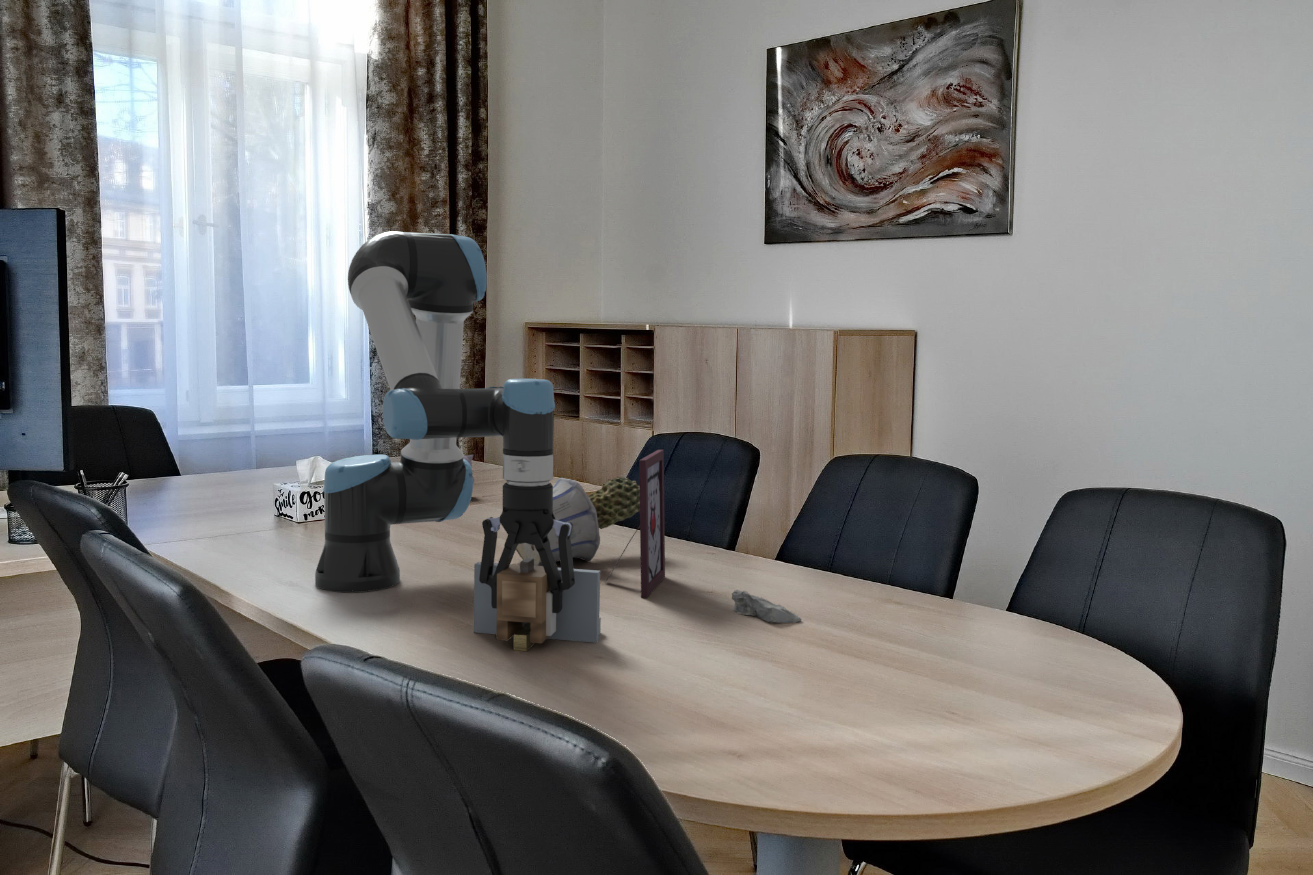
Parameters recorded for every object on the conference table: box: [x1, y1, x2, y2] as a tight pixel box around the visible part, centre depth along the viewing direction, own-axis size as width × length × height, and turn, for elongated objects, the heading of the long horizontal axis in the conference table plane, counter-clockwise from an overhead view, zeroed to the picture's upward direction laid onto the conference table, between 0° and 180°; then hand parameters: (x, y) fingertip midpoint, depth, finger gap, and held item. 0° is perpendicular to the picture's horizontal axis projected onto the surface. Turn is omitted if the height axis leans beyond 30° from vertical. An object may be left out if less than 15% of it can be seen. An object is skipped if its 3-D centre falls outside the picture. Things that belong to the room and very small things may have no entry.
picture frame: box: [605, 449, 666, 599], centre depth 200 cm, size 17×10×25 cm, turn 168°
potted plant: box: [515, 476, 640, 566], centre depth 222 cm, size 18×18×30 cm
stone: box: [731, 589, 802, 624], centre depth 183 cm, size 6×12×4 cm, turn 36°
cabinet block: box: [496, 558, 551, 644], centre depth 162 cm, size 7×7×12 cm
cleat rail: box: [513, 623, 536, 652], centre depth 163 cm, size 2×7×2 cm, turn 168°
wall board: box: [473, 561, 602, 644], centre depth 169 cm, size 20×6×11 cm, turn 78°
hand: (526, 631), depth 163 cm, fingers closed on cabinet block, 7 cm apart
